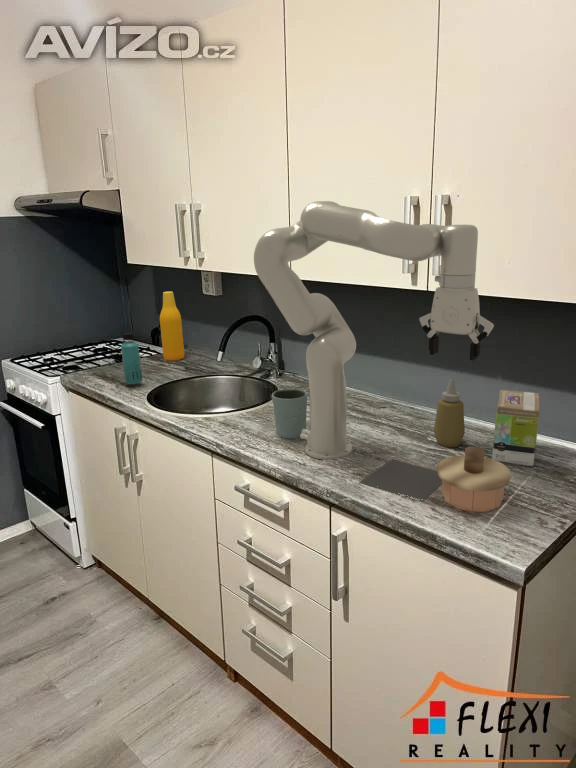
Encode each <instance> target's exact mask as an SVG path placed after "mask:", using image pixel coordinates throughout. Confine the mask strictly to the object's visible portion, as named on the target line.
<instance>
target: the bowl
mask: <svg viewBox="0 0 576 768" xmlns="http://www.w3.org/2000/svg"><path fill="white" fill-rule="evenodd" d="M505 487H506V486H504V487H502V488H500V489H496V490H489V491H474V490H467V489H462V488H458V487H455V486H452V485H450V484H448V483H446V482H444V481H443V480H442V485H441V494H442V495H443V498H444V500H445V501H446V503H448V505H451V506H453V507H454V508H456V509H459V510H460V509H461V510H463V511H468V512H478V513H479V512H488V511H489V512H490V511H493V510H495V509H497V508H499V506H500V505H501V503H502V501H503V500H504V496H505Z"/></svg>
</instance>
